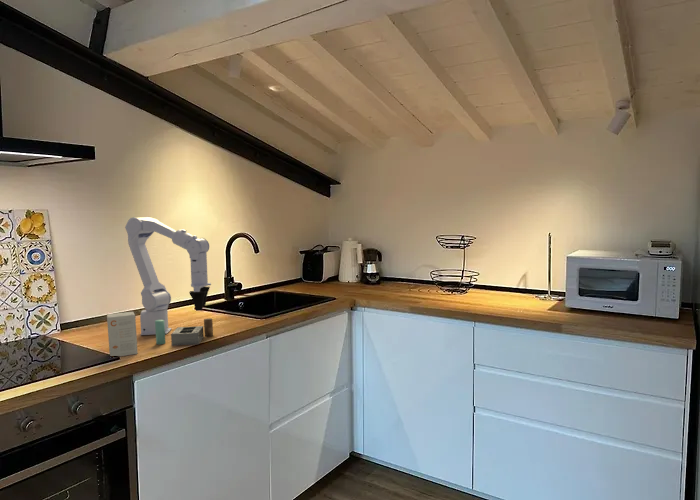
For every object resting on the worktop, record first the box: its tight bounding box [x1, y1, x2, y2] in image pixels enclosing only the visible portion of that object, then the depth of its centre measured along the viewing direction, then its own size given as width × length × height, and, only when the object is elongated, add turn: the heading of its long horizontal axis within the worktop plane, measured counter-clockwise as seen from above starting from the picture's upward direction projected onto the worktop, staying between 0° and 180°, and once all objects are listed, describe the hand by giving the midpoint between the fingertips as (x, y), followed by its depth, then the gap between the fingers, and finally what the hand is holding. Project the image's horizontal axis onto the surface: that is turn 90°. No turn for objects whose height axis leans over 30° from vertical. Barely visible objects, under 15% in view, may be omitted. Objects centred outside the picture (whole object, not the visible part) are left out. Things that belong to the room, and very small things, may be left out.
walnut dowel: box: [203, 317, 214, 337], centre depth 183 cm, size 3×3×6 cm
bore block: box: [170, 325, 205, 347], centre depth 176 cm, size 9×10×4 cm
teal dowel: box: [155, 320, 166, 345], centre depth 174 cm, size 3×3×8 cm
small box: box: [106, 311, 139, 357], centre depth 161 cm, size 8×6×13 cm
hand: (200, 308), depth 184 cm, fingers open, 7 cm apart
